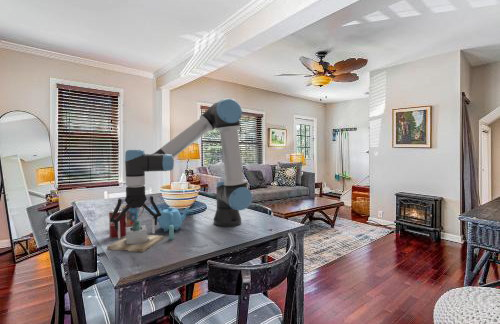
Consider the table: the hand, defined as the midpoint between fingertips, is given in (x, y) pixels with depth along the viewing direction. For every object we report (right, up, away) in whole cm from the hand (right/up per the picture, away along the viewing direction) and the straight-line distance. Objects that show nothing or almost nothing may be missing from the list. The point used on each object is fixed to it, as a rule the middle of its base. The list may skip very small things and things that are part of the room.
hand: (136, 235), depth 115 cm
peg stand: (0, -4, 0) cm, 4 cm away
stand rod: (+13, -3, +6) cm, 15 cm away
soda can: (-13, -3, +10) cm, 16 cm away
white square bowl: (0, -2, 0) cm, 2 cm away
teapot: (+9, -3, +22) cm, 24 cm away
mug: (-13, -3, +28) cm, 31 cm away
